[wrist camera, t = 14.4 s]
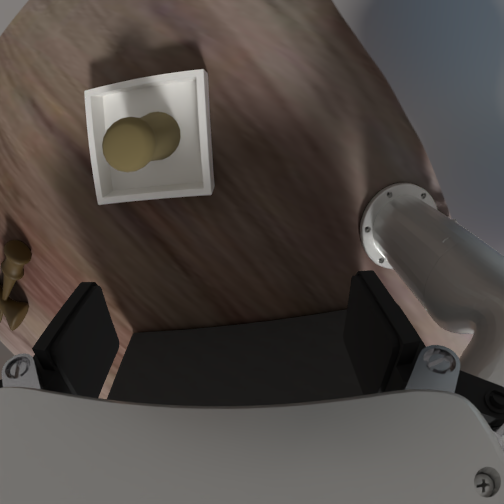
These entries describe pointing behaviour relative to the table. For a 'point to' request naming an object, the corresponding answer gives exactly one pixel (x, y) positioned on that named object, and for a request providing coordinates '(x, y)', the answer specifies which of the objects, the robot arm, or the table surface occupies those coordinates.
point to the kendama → (13, 282)
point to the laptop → (240, 364)
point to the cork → (140, 141)
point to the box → (160, 171)
